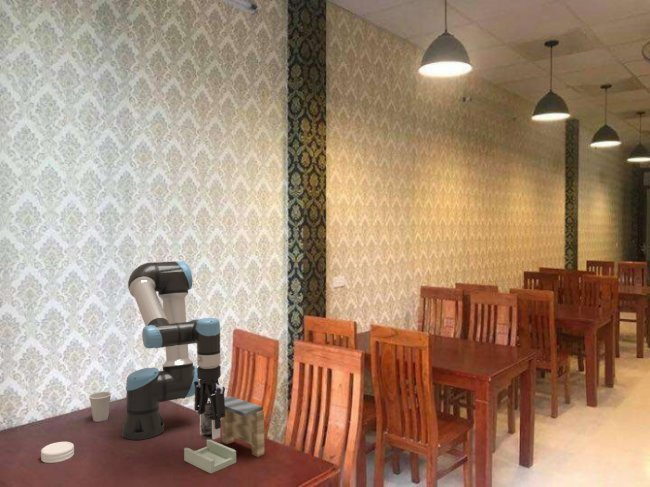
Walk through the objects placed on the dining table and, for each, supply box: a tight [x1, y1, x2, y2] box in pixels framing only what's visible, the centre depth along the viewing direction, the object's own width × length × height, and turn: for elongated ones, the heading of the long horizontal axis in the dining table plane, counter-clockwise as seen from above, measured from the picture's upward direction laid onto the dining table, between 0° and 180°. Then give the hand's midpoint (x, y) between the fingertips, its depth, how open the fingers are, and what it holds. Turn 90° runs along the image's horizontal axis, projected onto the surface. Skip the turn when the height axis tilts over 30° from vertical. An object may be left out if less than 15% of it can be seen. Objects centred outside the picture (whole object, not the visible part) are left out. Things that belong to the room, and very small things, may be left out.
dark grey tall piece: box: [201, 400, 213, 440], centre depth 171 cm, size 6×6×12 cm
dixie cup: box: [88, 391, 112, 423], centre depth 210 cm, size 8×8×10 cm
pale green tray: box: [183, 439, 237, 475], centre depth 171 cm, size 14×10×4 cm
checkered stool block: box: [221, 395, 265, 457], centre depth 180 cm, size 19×8×16 cm, turn 49°
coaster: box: [40, 441, 75, 464], centre depth 176 cm, size 10×10×4 cm
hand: (210, 435), depth 171 cm, fingers closed on dark grey tall piece, 6 cm apart
